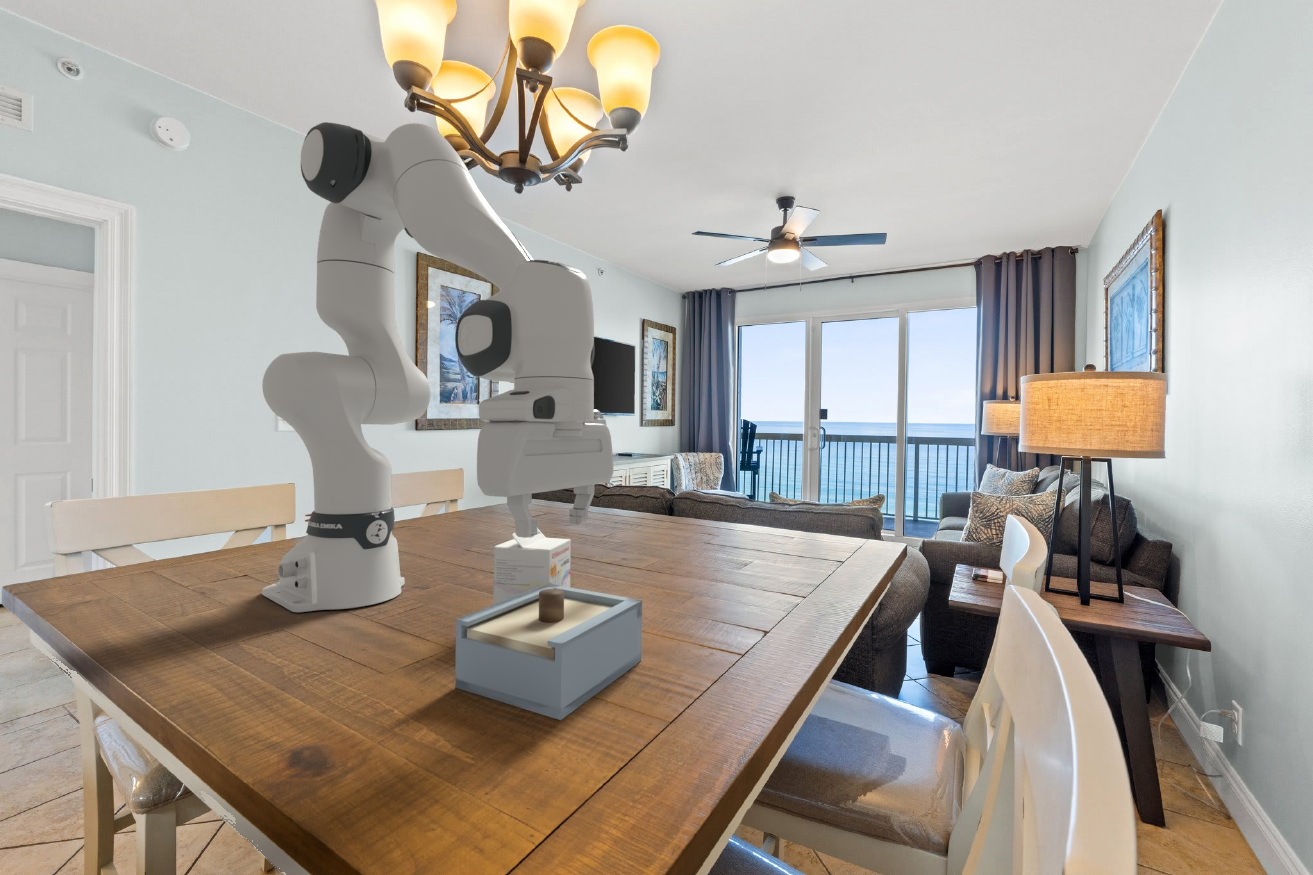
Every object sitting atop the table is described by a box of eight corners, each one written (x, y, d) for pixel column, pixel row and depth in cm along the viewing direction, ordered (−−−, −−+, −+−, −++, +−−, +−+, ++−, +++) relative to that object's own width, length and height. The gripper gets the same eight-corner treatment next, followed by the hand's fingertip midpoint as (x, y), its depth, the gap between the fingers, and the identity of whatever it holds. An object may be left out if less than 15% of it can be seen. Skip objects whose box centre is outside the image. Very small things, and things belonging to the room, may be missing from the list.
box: (455, 687, 61) (456, 619, 61) (548, 639, 75) (549, 583, 75) (560, 720, 55) (561, 643, 54) (641, 660, 69) (642, 600, 69)
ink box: (548, 636, 76) (550, 537, 76) (491, 630, 78) (492, 533, 78) (571, 615, 85) (572, 526, 85) (518, 611, 87) (520, 523, 86)
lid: (466, 637, 61) (467, 600, 61) (549, 602, 73) (549, 571, 73) (553, 659, 55) (554, 618, 55) (626, 617, 68) (627, 584, 68)
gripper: (584, 410, 74) (584, 515, 75) (466, 403, 56) (466, 542, 56) (625, 409, 72) (625, 519, 72) (515, 401, 53) (515, 548, 54)
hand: (554, 529), depth 64 cm, fingers open, 8 cm apart
